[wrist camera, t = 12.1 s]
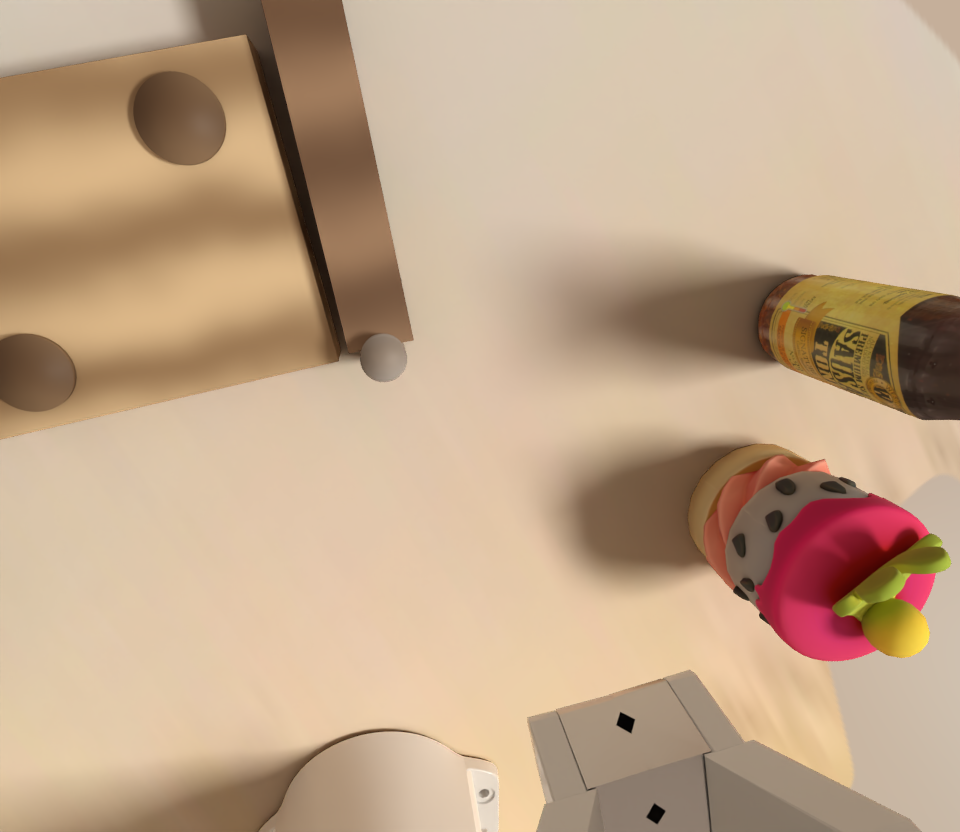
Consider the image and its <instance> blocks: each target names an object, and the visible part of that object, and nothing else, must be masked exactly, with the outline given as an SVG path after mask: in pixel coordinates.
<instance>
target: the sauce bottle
mask: <svg viewBox="0 0 960 832" xmlns="http://www.w3.org/2000/svg"><path fill="white" fill-rule="evenodd" d="M758 334H759V341H760V342H761V343H762V348H763V349H764V350H765V351H766V352H767V353H768V354H769V355H770V356H772V357H773V358H774V359H775V360H777V361H779V362H780V363H781V364H782V365H783V366H785V367H787V368H789V369H791V370H794V371H796V372H799V373H801V374H804V375H807V376H809V377H812V378H814V379H817V380H820V381H822V382H825V383H828V384H830V385H833V386H836V387H838V388H840V389H843V390H846V391H848V392H850V393H854V394H857V395H859V396H862V397H865V398H867V399H870V400H872V401H875V402H878V403H880V404H883V405H885V406H888V407H890V408H893V409H896V410H898V411H901V412H903V413H905V414H908V415H911V416H914V417H916V418H919V419H922V420H960V297H958V296H954V295H948V294H942V293H936V292H930V291H923V290H917V289H910V288H903V287H897V286H891V285H885V284H879V283H873V282H867V281H861V280H855V279H848V278H842V277H836V276H830V275H821V276H816V275H801V276H797V277H793V278H792V279H789V280H787V281H784V282H783V283H782V284H781V285H779V286H777V287H776V288H775V289H774V290H773V291H772V292H771V293H770V295H769V296H768V297H767V298H766V300H765V302H764V304H763V306H762V309H761V311H760V314H759V324H758Z"/></svg>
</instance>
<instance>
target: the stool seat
mask: <svg viewBox="0 0 960 832" xmlns="http://www.w3.org/2000/svg"><path fill="white" fill-rule="evenodd" d="M340 352H341V349H340V345H339V342H338V338H337V334H336V331H335V327H334V324H333V320H332V317H331V313H330V309H329V306H328V302H327V299H326V295H325V292H324V288H323V284H322V281H321V277H320V274H319V270H318V267H317V263H316V259H315V256H314V252H313V249H312V245H311V242H310V238H309V234H308V231H307V227H306V224H305V220H304V217H303V213H302V209H301V206H300V202H299V199H298V195H297V192H296V188H295V184H294V181H293V177H292V174H291V170H290V167H289V163H288V159H287V156H286V152H285V149H284V145H283V142H282V138H281V134H280V131H279V127H278V124H277V120H276V117H275V113H274V109H273V106H272V102H271V99H270V95H269V92H268V88H267V84H266V81H265V77H264V74H263V70H262V67H261V63H260V59H259V56H258V52H257V50H256V48H255V47H254V46H253V44H252V43H251V41H250V40H249V38H248V37H247V35H246V34H245V35H240V36H234V37H228V38H223V39H217V40H212V41H206V42H200V43H195V44H189V45H183V46H178V47H172V48H166V49H161V50H155V51H150V52H144V53H138V54H133V55H127V56H121V57H116V58H110V59H104V60H99V61H93V62H88V63H82V64H76V65H71V66H65V67H59V68H54V69H48V70H42V71H37V72H31V73H26V74H20V75H14V76H9V77H3V78H0V439H5V438H9V437H13V436H18V435H22V434H26V433H31V432H35V431H39V430H43V429H48V428H52V427H56V426H61V425H65V424H69V423H74V422H78V421H82V420H87V419H91V418H95V417H100V416H104V415H108V414H113V413H117V412H121V411H126V410H130V409H134V408H138V407H143V406H147V405H151V404H156V403H160V402H164V401H169V400H173V399H177V398H182V397H186V396H190V395H195V394H199V393H203V392H208V391H212V390H216V389H220V388H225V387H229V386H233V385H238V384H242V383H246V382H251V381H255V380H259V379H264V378H268V377H272V376H277V375H281V374H285V373H290V372H294V371H298V370H303V369H307V368H311V367H315V366H320V365H324V364H328V363H333V362H337V361H339V357H340Z"/></svg>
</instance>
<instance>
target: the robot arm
mask: <svg viewBox="0 0 960 832" xmlns="http://www.w3.org/2000/svg"><path fill="white" fill-rule="evenodd" d="M527 723H528V727H529V732H530V736H531V741H532V746H533V750H534V755H535V759H536V764H537V768H538V772H539V776H540V780H541V785H542V789H543V793H544V797H545V800H546V804H544V808H543V811H542V814H541V818H540V821H539V824H538V828H537V831H536V832H921V831H920V830H919V829H918V827H917V826H916V825H915V824H914V823H913V822H912V821H911V820H910V819H908V818H907V817H904V816H903V815H901V814H899V813H897V812H895V811H893V810H891V809H889V808H887V807H885V806H883V805H881V804H879V803H877V802H875V801H873V800H871V799H869V798H867V797H865V796H863V795H861V794H859V793H857V792H855V791H853V790H851V789H849V788H847V787H845V786H843V785H841V784H839V783H838V782H836V781H834V780H832V779H830V778H828V777H826V776H824V775H822V774H820V773H818V772H816V771H814V770H812V769H810V768H808V767H806V766H804V765H802V764H800V763H798V762H796V761H794V760H792V759H790V758H788V757H786V756H784V755H782V754H780V753H778V752H776V751H774V750H772V749H770V748H768V747H767V746H765V745H763V744H761V743H759V742H757V741H755V740H751V741H747V742H744V740H743V739H742V737H741V736H740V735H739V733H738V732H737V731H736V729H735V728H734V726H733V725H732V724H731V722H730V721H729V719H728V718H727V717H726V715H725V714H724V713H723V711H722V710H721V708H720V707H719V706H718V704H717V703H716V701H715V700H714V699H713V697H712V696H711V695H710V693H709V692H708V690H707V689H706V688H705V686H704V685H703V684H702V682H701V681H700V679H699V678H698V677H697V675H696V674H695V673H694V672H692V671H691V670H688V671H684V672H681V673H678V674H675V675H671V676H668V677H665V678H663V679H658V680H655V681H652V682H648V683H645V684H642V685H639V686H635V687H632V688H629V689H626V690H622V691H619V692H616V693H613V694H609V695H608V696H604V697H600V698H596V699H593V700H589V701H585V702H581V703H578V704H574V705H570V706H566V707H563V708H559V709H556V711H555V710H554V711H550V712H546V713H543V714H539V715H535V716H531V717H527ZM258 832H499V777H498V769H497V767H496V766H495V765H494V764H493V763H491V762H489V761H486V760H482V759H477V758H471V757H464V756H462V755H459V754H457V753H456V752H454V751H452V750H451V749H449V748H448V747H446V746H444V745H443V744H441V743H439V742H437V741H435V740H433V739H430V738H428V737H425V736H421V735H418V734H413V733H407V732H376V733H369V734H364V735H360V736H356V737H353V738H350V739H347V740H344V741H342V742H339V743H337V744H335V745H333V746H331V747H329V748H327V749H326V750H324V751H322V752H321V753H320V754H318V755H317V756H315V757H314V758H313V759H312V760H310V761H309V762H308V763H307V764H306V765H305V766H304V767H303V768H302V769H301V770H300V771H299V773H298V774H297V775H296V776H295V778H294V779H293V781H292V782H291V784H290V786H289V788H288V790H287V792H286V795H285V797H284V800H283V802H282V805H281V807H280V809H279V810H278V812H277V813H276V814H275V815H274V816H273V817H272V818H271V819H269V820H268V821H267V822H266V823H265V824H264V825H263V826H262V828H261V829H260V830H259V831H258Z"/></svg>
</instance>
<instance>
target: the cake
mask: <svg viewBox="0 0 960 832" xmlns="http://www.w3.org/2000/svg"><path fill="white" fill-rule="evenodd" d="M687 516H688V524H689V532H690V535H691V537H692V539H693V541H694V543H695V544H696V546H697V548H698V549H699V550H700V551H701V552H702V553H703V554H704V555H705V556H706V557H707V562H708V563H709V564H710V565H711V566H712V568H713V569H714V570H715V571H716V572H717V574H718V575H719V576H720V577H721V578H722V579H723V580H724V582H725V583H726V584H727V585H728V586H729V587H730V588H731V589H732V590H733V592H734V593H735V594H736V595H738V596H739V597H741V598H742V599H745V600H747V601H750V602H751V603H752V604H753V605H754V606H755V607H756V608H757V609H758V610H759V611H760V614H759V617H760V618H761V619H762V620H763V621H765V622H766V623H768V624H769V625H770V626H771V627H772V628H773V629H774V631H775V632H776V633H777V634H778V636H779V637H780V638H781V639H782V640H783V641H784V642H785V643H787V644H788V645H789V646H790V647H791V648H792V649H794V650H795V651H797V652H799V653H800V654H802V655H804V656H807V657H810V658H813V659H817V660H822V661H844V660H849V659H854V658H858V657H861V656H864V655H867V654H869V653H871V652H874V651H876V650H879V651H881V652H883V653H884V654H886V655H888V656H894V657H899V658H905V657H911V656H912V655H915V654H916V653H919V652H920V651H921V650H922V649H923V648H924V647H925V646H926V644H927V643H928V639H929V635H930V632H929V628H928V625H927V622H926V618H925V617H924V616H923V615H922V614H921V613H920V611H921V609H922V608H923V606H924V604H925V603H926V601H927V599H928V597H929V594H930V592H931V589H932V586H933V583H934V579H935V574H936V573H937V572H941V571H944V570H946V569H947V568H949V567H950V565H951V560H950V558H949V555H948V553H947V552H946V551H945V550H944V549H943V548H941V545H942V541H941V539H940V538H939V537H937V536H936V535H934V534H929V532H928V531H927V529H926V528H925V526H924V525H923V524H922V523H921V522H920V521H919V520H918V519H917V518H916V517H915V516H913V515H912V514H911V513H909V512H908V511H906V510H904V509H903V508H901V507H899V506H897V505H896V504H894V503H892V502H890V501H888V500H886V499H884V498H881V497H879V496H877V495H874V494H872V493H869V494H867V493H866V492H864V491H862V490H860V489H858V488H857V487H856V484H855V482H853V481H851V480H849V479H846V478H843V477H840V478H837V477H835V476H832V475H831V474H830V472H829V469H828V466H827V463H826V461H825V459H823V460H819V461H815V462H812V463H811V462H810V461H808V460H806V459H804V458H802V457H800V456H799V455H797V454H795V453H793V452H791V451H789V450H787V449H784V448H782V447H779V446H777V445H773V444H753V445H750V446H746V447H743V448H739V449H736V450H734V451H732V452H731V453H729V454H727V455H726V456H724V457H723V458H721V459H719V460H718V461H716V462H715V463H714V464H713V465H712V467H711V468H710V469H709V470H708V471H707V472H706V473H705V474H704V475H703V476H702V477H701V479H700V481H699V483H698V485H697V486H696V488H695V490H694V492H693V494H692V496H691V501H690V505H689V510H688V515H687Z"/></svg>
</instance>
